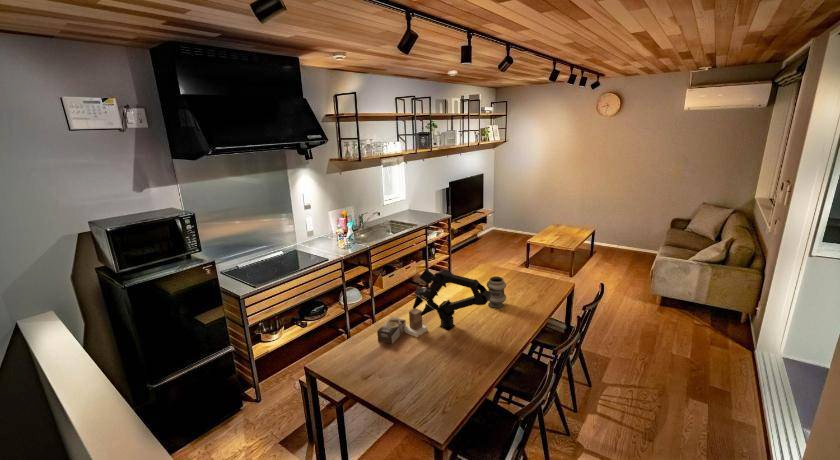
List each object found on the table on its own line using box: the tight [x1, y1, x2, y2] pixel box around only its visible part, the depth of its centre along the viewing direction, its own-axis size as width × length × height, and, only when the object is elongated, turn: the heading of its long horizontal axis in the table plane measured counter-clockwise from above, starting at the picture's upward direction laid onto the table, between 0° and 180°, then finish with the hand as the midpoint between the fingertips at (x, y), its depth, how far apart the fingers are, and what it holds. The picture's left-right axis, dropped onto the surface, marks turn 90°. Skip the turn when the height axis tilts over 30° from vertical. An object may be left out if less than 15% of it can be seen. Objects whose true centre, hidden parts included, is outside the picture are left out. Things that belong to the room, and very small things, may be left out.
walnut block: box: [408, 307, 423, 331], centre depth 213 cm, size 5×5×10 cm
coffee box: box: [376, 316, 407, 345], centre depth 212 cm, size 9×6×16 cm
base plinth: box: [404, 324, 428, 338], centre depth 215 cm, size 9×9×2 cm
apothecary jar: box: [486, 275, 507, 310], centre depth 237 cm, size 12×12×18 cm
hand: (417, 312), depth 212 cm, fingers open, 9 cm apart
